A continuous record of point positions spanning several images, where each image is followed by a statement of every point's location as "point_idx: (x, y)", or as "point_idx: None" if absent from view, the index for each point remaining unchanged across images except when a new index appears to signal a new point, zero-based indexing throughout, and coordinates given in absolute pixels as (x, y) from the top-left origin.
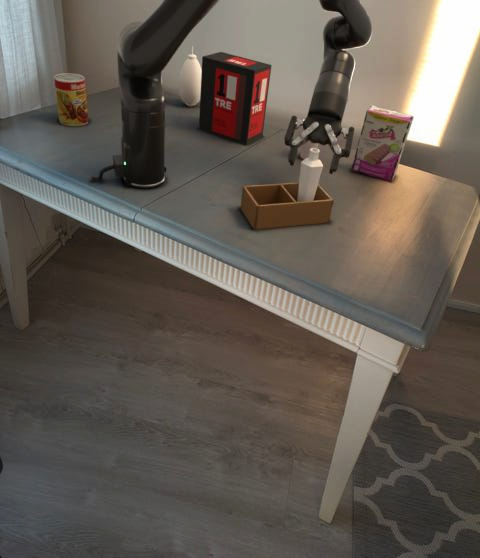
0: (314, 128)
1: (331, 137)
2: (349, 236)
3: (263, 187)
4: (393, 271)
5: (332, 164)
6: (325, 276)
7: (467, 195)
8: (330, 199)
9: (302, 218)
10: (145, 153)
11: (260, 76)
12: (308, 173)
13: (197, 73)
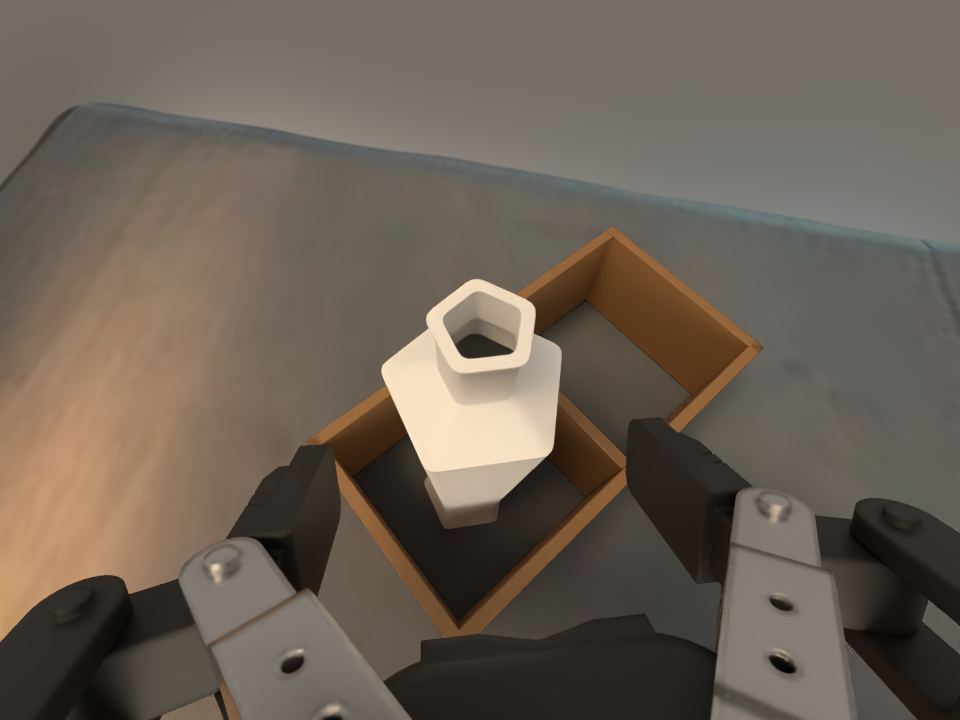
0: (721, 703)
1: (318, 671)
2: (241, 409)
3: (687, 405)
4: (92, 271)
5: (306, 467)
6: (315, 178)
7: None
8: (325, 440)
9: None
10: None
11: None
12: (474, 338)
13: None
